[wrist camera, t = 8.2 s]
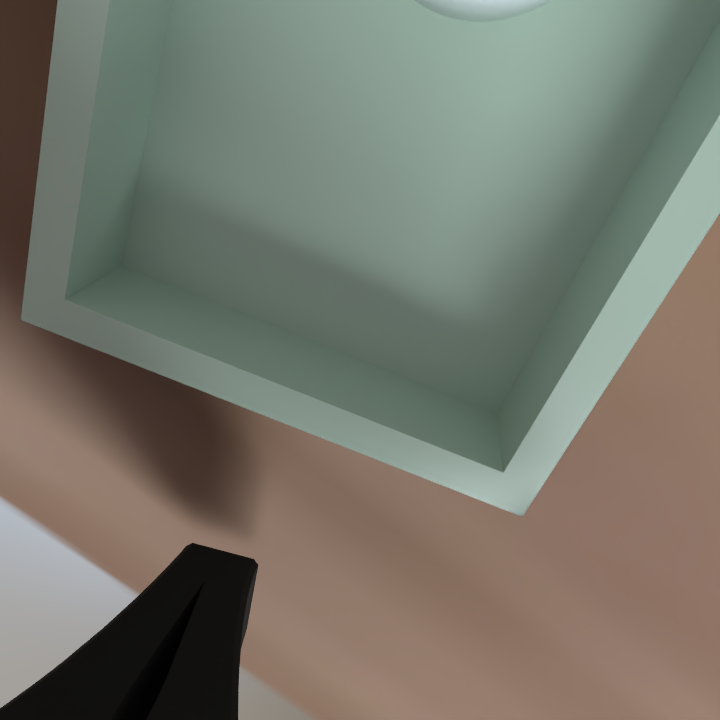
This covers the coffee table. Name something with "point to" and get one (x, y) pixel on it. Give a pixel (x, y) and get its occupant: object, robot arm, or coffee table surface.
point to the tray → (378, 211)
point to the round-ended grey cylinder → (481, 8)
